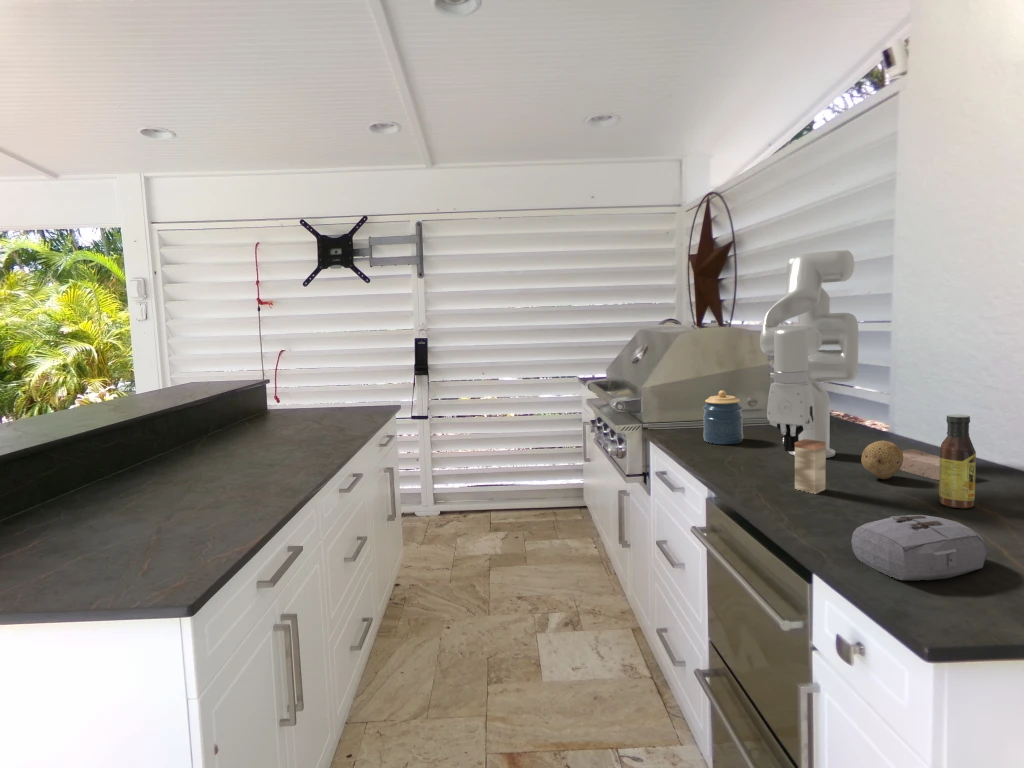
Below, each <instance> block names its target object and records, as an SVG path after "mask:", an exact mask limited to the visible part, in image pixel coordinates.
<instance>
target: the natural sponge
mask: <svg viewBox="0 0 1024 768" xmlns="http://www.w3.org/2000/svg"><path fill="white" fill-rule="evenodd" d="M902 451H903V450H902V449H901V448H900V447H899V446H898V445H896V444H895V443H893V442H891V441H888V440H887V441H886V440H877V441H874V442H872V443H870V444H868V445H867V446H866V447H865V448H864V449H863V450H862V454H861V458H860V459H861V460H860V461H861V465H862V466H863V468H864V469H865V470H867V472H870V473H872V474H873V475H874V476H875V477H877V478H878V479H880V480H888V479H891V478H892V477H894V476H895V475H896V474H897V473H898V472H899V471H900V470H899V469H900V467H901V465H902V463H903V453H902Z"/></svg>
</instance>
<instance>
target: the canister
mask: <svg viewBox="0 0 1024 768" xmlns="http://www.w3.org/2000/svg"><path fill="white" fill-rule="evenodd" d="M704 402H705V403H706V404H704V406H702V409H703V411H704V414H703V416H702V419H703V420H702V421H703V435H702V436H703V441H704V442H705V441H706V442H705V443H708V442H709V443H708V444H712V443H713V445H736V444H739V443H742V442H743V440H744V433H743V432H744V431H743V430H744V429H743V426H744V425H743V419H744V417H743V415H742V410H743V409H744V407H743V406H742V405H741V404H740V402H741V400H740V399H739V398H737V397H736V396H734V395H728V394H727V392H726V391H725V390H723V389H722V390H719V391H718V395H711V396H709V397H708V398H707V399H705V400H704Z"/></svg>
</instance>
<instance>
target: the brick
mask: <svg viewBox="0 0 1024 768" xmlns="http://www.w3.org/2000/svg"><path fill="white" fill-rule="evenodd" d="M901 451H902V453H903V463H902V465H901V467H900V469H899V470H898V471H902V472H906V473H910V474H914V475H918V476H921V477H925V478H927V479H928V478H929V479H933V480H936V481H939V474H940V456H939V455H935V454H930V453H928V452H926V451H921V450H918V449H914V448H913V449H912V448H911V449H904V450H901Z"/></svg>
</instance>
